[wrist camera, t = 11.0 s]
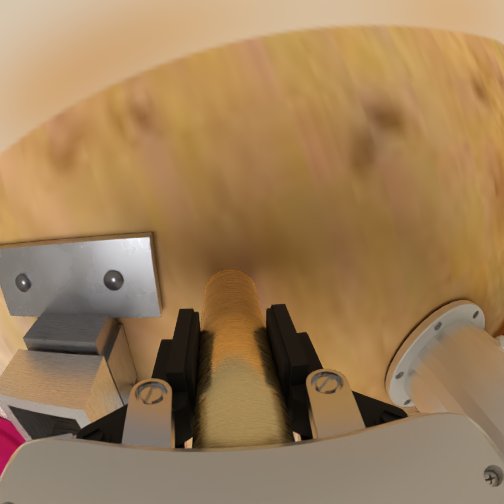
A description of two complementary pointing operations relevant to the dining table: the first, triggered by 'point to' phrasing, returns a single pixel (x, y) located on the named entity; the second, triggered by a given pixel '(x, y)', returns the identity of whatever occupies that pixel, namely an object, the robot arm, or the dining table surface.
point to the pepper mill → (8, 442)
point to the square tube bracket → (56, 392)
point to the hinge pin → (236, 370)
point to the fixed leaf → (83, 295)
